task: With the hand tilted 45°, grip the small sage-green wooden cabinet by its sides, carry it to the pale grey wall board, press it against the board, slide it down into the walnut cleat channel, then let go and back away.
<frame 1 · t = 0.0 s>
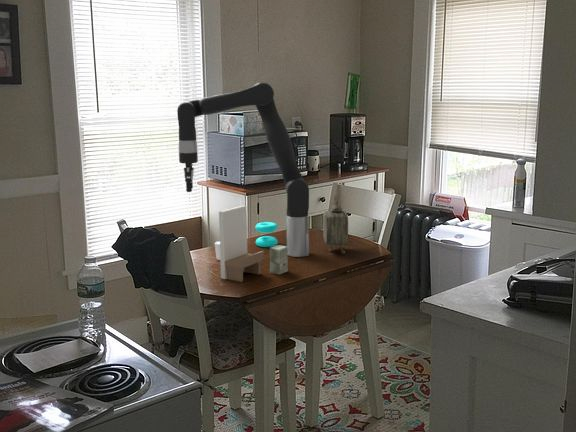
hand: (189, 190, 262), 29 cm above the table, tool pointing down, fingers open, 8 cm apart
shot glass: (223, 258, 268), on the table
donuts: (266, 245, 289), on the table
sage cabinet: (278, 271, 248), on the table
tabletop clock: (335, 251, 278), on the table
wall board: (241, 275, 243), on the table
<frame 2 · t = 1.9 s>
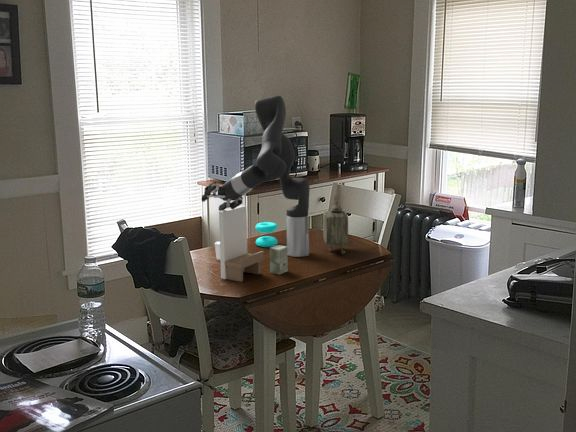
hand: (211, 204, 236), 29 cm above the table, tool tilted 60°, fingers open, 7 cm apart
nothing on the table moved.
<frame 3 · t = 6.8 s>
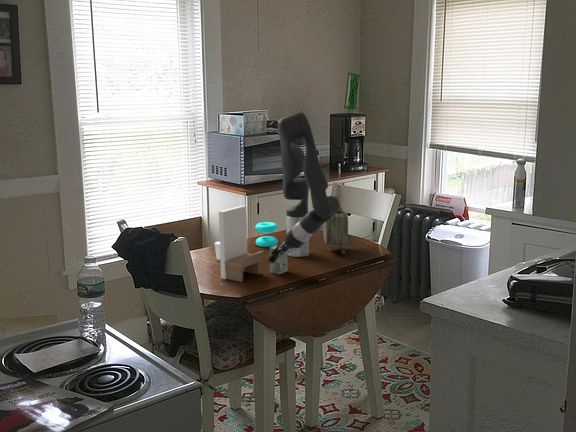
hand: (274, 259, 248), 5 cm above the table, tool tilted 45°, fingers closed on sage cabinet, 5 cm apart
sage cabinet: (278, 271, 248), on the table, touching gripper
everything else where it was.
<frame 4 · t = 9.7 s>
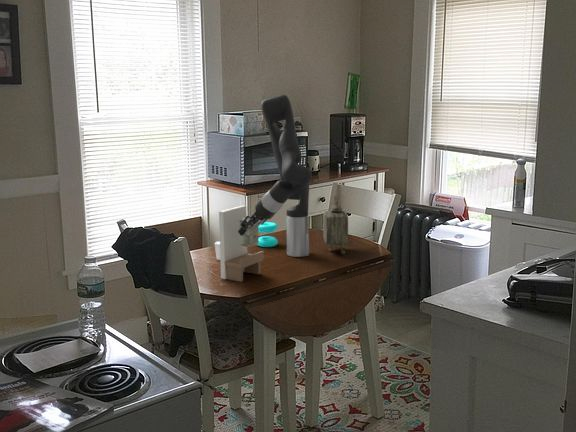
hand: (245, 231, 239), 18 cm above the table, tool tilted 45°, fingers closed on sage cabinet, 5 cm apart
sage cabinet: (249, 244, 239), point 13 cm above the table, touching gripper
everything else where it was.
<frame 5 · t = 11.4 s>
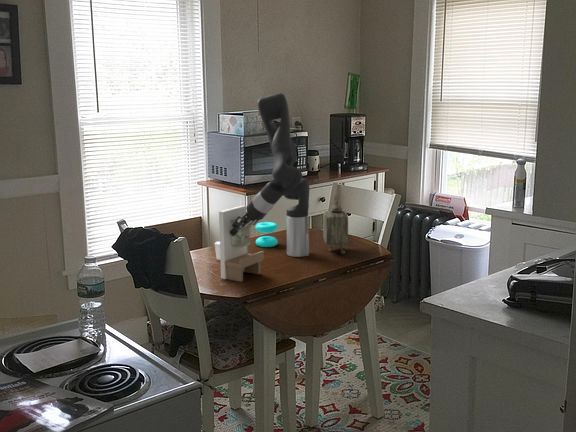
hand: (236, 232, 241), 17 cm above the table, tool tilted 45°, fingers closed on sage cabinet, 5 cm apart
sage cabinet: (240, 245, 241), point 12 cm above the table, touching gripper
everything else where it was.
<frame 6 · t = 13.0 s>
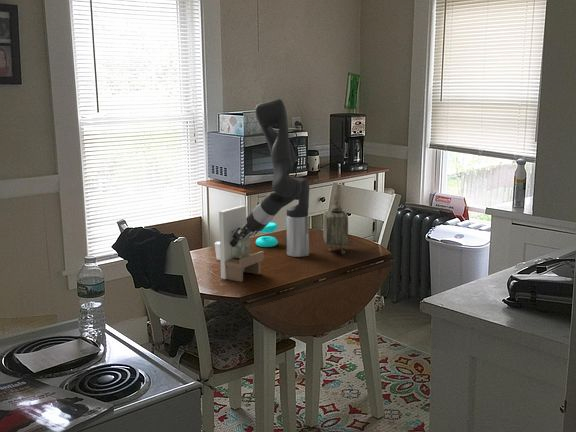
hand: (236, 243, 242), 13 cm above the table, tool tilted 45°, fingers closed on sage cabinet, 5 cm apart
sage cabinet: (241, 255, 242), point 8 cm above the table, touching gripper
everything else where it was.
when the fingers open (13 cm above the table, at t = 13.0 s): sage cabinet stays where it is, resting on wall board.
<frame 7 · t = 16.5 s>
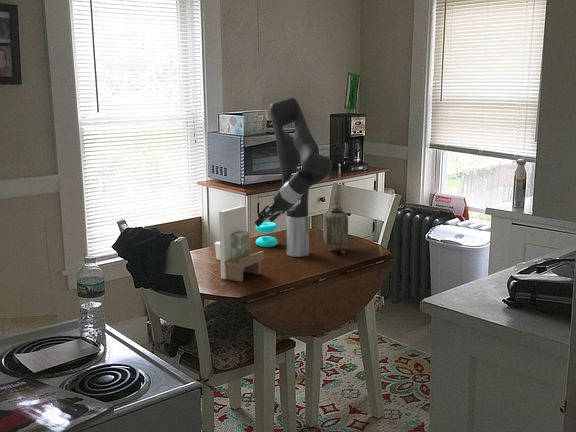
hand: (263, 222, 233), 22 cm above the table, tool tilted 45°, fingers open, 8 cm apart
sage cabinet: (241, 258, 242), point 7 cm above the table, touching wall board
everything else where it was.
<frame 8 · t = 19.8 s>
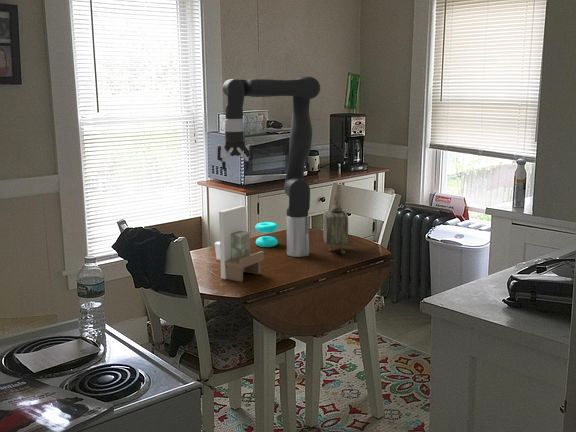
hand: (235, 170, 255), 38 cm above the table, tool pointing down, fingers open, 8 cm apart
nothing on the table moved.
at the end: sage cabinet 0.2 cm off-centre on the wall board, point 7.0 cm above the wall board's base; sage cabinet tilted 0°; the gripper is holding nothing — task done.
